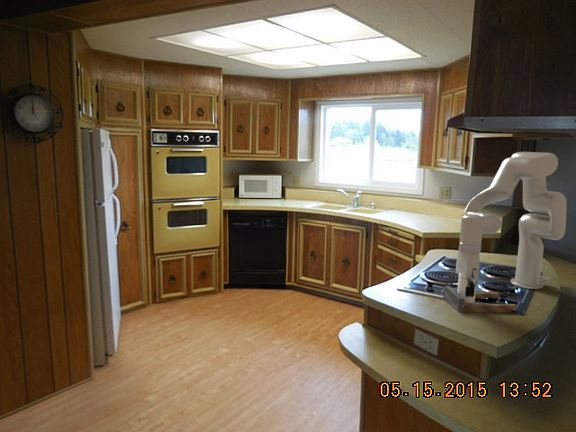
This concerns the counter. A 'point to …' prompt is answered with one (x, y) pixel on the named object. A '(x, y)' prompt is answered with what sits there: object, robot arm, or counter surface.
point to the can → (462, 288)
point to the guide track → (459, 305)
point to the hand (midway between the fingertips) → (465, 293)
